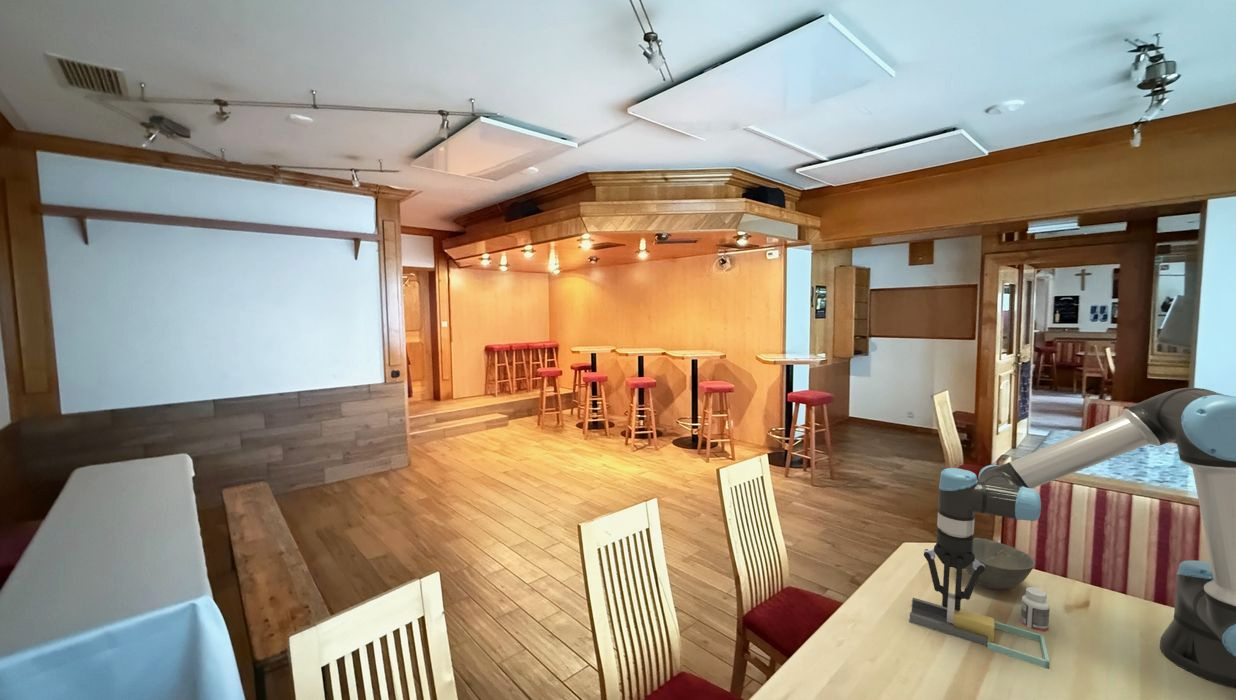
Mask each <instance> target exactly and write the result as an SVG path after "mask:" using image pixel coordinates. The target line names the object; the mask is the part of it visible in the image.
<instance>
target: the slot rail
mask: <svg viewBox="0 0 1236 700" xmlns="http://www.w3.org/2000/svg"><path fill="white" fill-rule="evenodd" d="M911 602H912V603H911V612H909V620H908V621H909V623H910V624H914V625H917V626H921V627H923V628H927V629H930V630H932V631H936V632H939V633H942V634H946V635H949V636H951V637H952V636H953V637H955V638H958V639H961V640H965V641H967V642H970V643H975V644H976V645H977V644H978V645H980V646H983V647H987V645H988V642H989V641H988V636H986V635H983V634H980V633H976V632H973V631H970V630H966V629H963V628H960V627H957V626H954V624H952V623H949V622H947V608H946V607H943V606H942V604H941V605H940V604H937V603H933V602H930V601H926V600H923V599H921V598H916V597H912V600H911Z"/></svg>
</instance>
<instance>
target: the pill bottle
mask: <svg viewBox="0 0 1236 700" xmlns="http://www.w3.org/2000/svg"><path fill="white" fill-rule="evenodd" d="M1047 597H1048V596H1047V593H1046V592H1045V591H1044V590H1042V589H1040V588H1037V587H1031V586H1030V587H1029V586H1028V587H1026V589H1025V595H1022V598H1021V607H1020V622H1021V624H1022V625H1024V626H1025V627H1027V628H1029V629H1032V630H1034V631H1039V632H1047V631H1048V630H1049V625H1050V624H1049V621H1050V611H1051V610H1050V609H1051V608H1050V607H1051V605H1050V604H1049V602H1048V601H1047V599H1048V598H1047Z"/></svg>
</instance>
